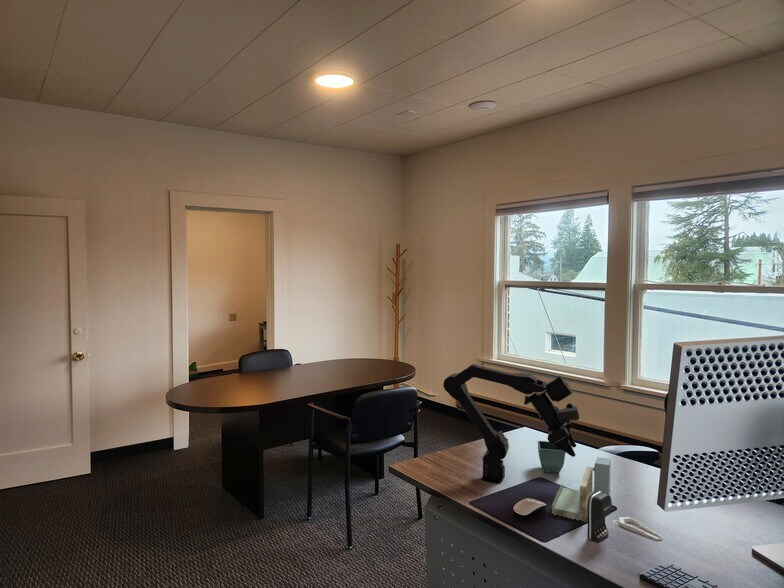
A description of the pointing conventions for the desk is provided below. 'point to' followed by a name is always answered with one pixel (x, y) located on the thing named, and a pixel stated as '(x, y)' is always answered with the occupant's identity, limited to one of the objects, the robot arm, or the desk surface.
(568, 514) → the cream open holder
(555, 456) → the flower pot
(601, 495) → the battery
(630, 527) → the white looped flat piece
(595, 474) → the cabinet block
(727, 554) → the desk surface
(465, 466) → the desk surface
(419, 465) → the desk surface
